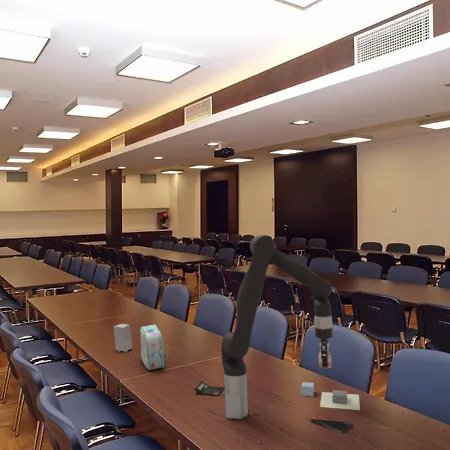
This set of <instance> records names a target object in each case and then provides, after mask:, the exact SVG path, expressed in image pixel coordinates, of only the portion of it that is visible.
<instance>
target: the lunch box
mask: <svg viewBox="0 0 450 450" xmlns="http://www.w3.org/2000/svg"><path fill="white" fill-rule="evenodd" d="M139 333H140V334H139V335H140V351H141V352H140V355H141V361H142V363H143V365H144V366H145V368H146V369H147V370H148V371H151V370H156V369H162V368H164V367H165V362H166V353H165V349H164V339H163V337H162V336H163V335H162V333H161V331H160V330H159V328H158V326H157V325H156V324H150V325H145V326H141V327H140V332H139Z"/></svg>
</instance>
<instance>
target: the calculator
mask: <svg viewBox="0 0 450 450" xmlns="http://www.w3.org/2000/svg"><path fill="white" fill-rule="evenodd" d="M193 391H195V392H196V393H199V394H200V395H201V396H209V397H210V396H211V397H219V396H220V395H221V394H222V393H223V391H225V386H224V387H222V386H210V385H208V384H207V383H206V382H204V381H203V380H201V381H200V382H199V383H198V384H197V386H196V387H195V388H194V390H193Z"/></svg>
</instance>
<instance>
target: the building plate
mask: <svg viewBox="0 0 450 450" xmlns="http://www.w3.org/2000/svg"><path fill="white" fill-rule="evenodd" d="M332 394H333V392H326V391H322V392H321V396H320V397H321V398H320V403H319V407H320V408H329V409H343V410H353V411H354V410H355V411H360V410H361V409H360V408H361V407H360V395H359V394H357V393H356V394H355V393H354V394H353V393H347V404H341V403H333V399H332Z"/></svg>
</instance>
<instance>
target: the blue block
mask: <svg viewBox="0 0 450 450" xmlns="http://www.w3.org/2000/svg"><path fill="white" fill-rule="evenodd" d="M314 394H315V383H314V382H306V381H303V382H302V384H301V396H303V397H304V396H306V397H314Z"/></svg>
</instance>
